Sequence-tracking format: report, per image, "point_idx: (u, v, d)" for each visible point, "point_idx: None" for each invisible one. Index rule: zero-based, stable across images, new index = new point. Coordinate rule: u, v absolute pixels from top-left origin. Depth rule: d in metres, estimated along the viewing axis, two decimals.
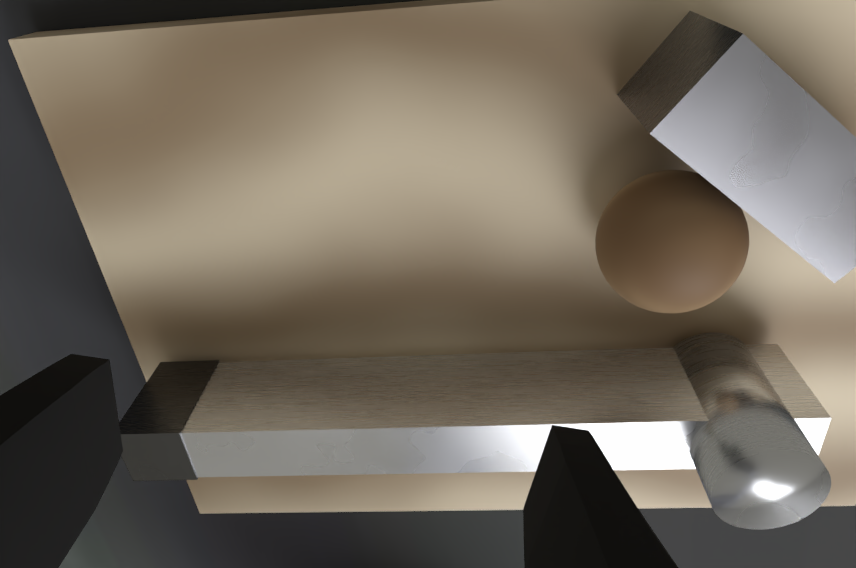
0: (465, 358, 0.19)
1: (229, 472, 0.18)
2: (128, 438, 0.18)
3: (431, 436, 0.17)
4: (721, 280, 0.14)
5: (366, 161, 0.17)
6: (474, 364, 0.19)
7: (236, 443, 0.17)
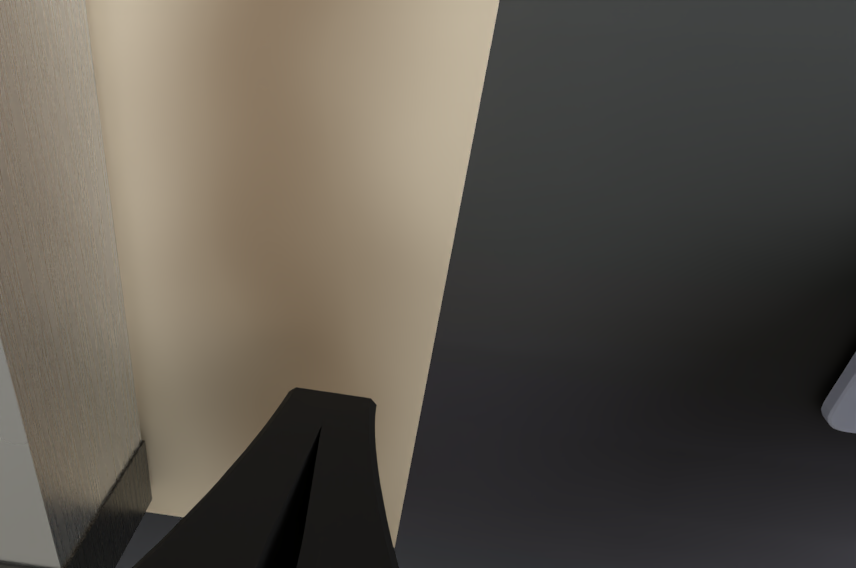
0: None
1: (41, 533, 0.11)
2: None
3: None
4: None
5: None
6: None
7: None
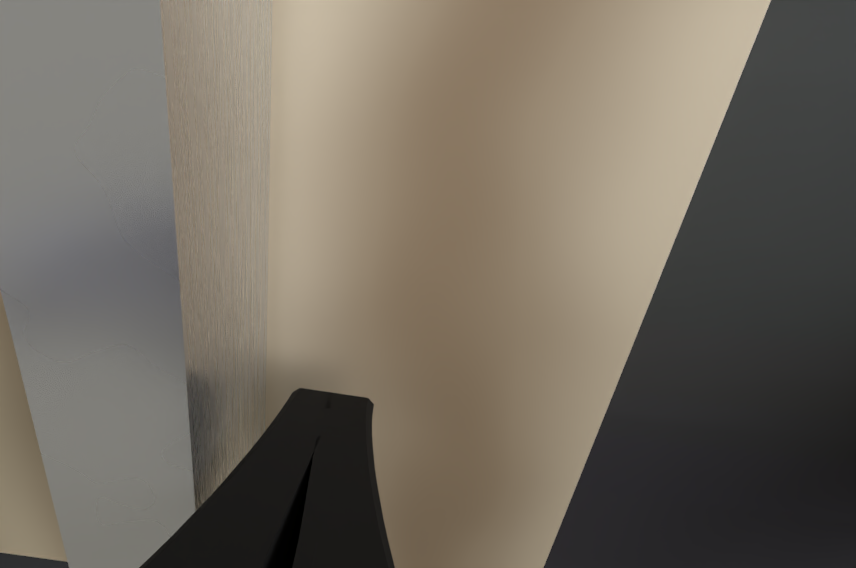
0: None
1: None
2: None
3: (39, 313, 0.06)
4: None
5: None
6: None
7: None
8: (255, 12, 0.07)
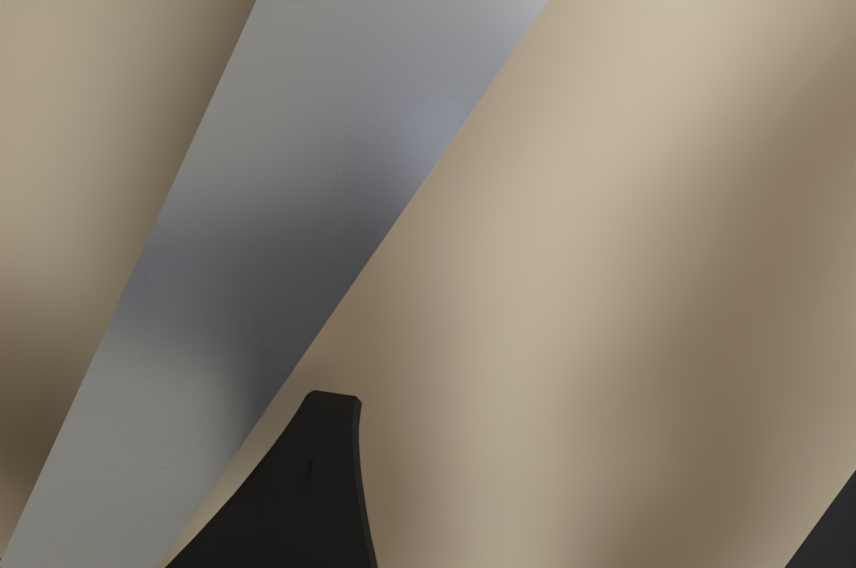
0: None
1: None
2: None
3: (183, 259, 0.06)
4: None
5: (75, 250, 0.10)
6: None
7: (40, 563, 0.08)
8: None
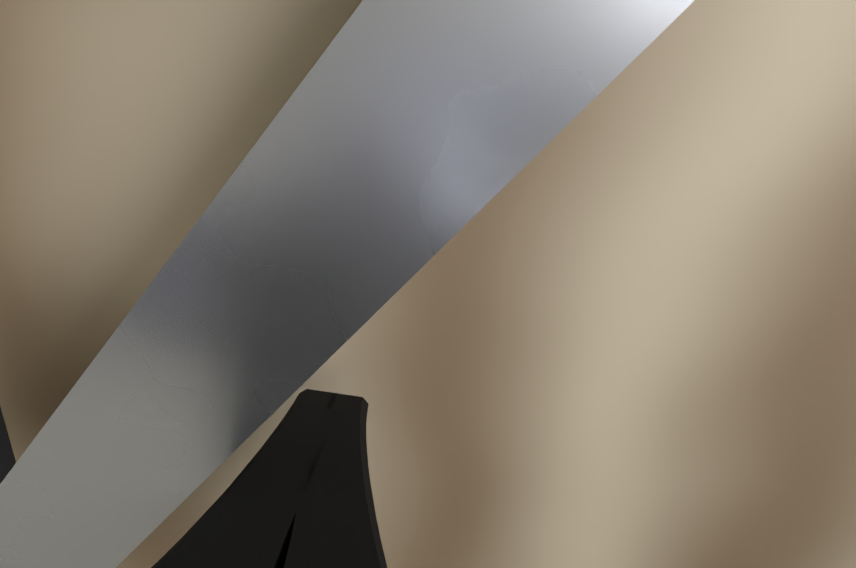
0: None
1: None
2: None
3: (262, 205, 0.05)
4: None
5: None
6: None
7: (28, 512, 0.08)
8: None
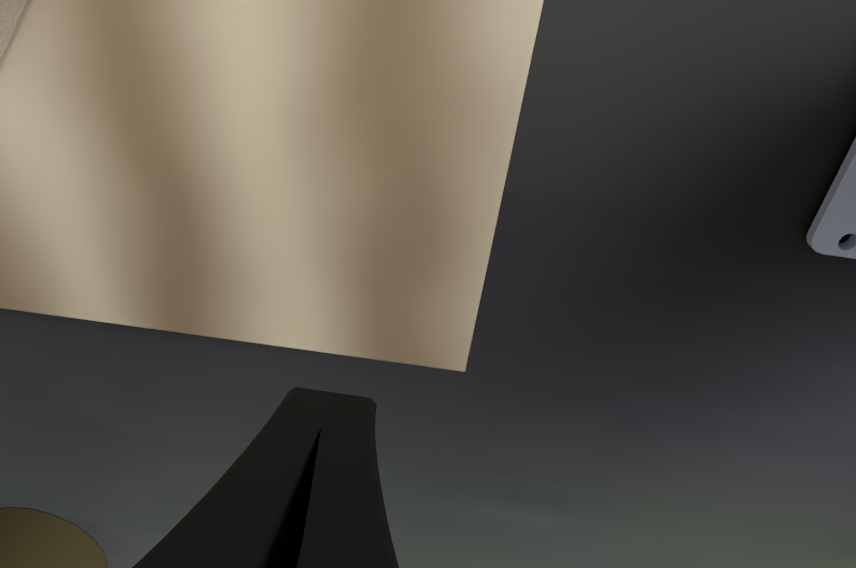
0: None
1: None
2: None
3: None
4: None
5: None
6: None
7: None
8: None
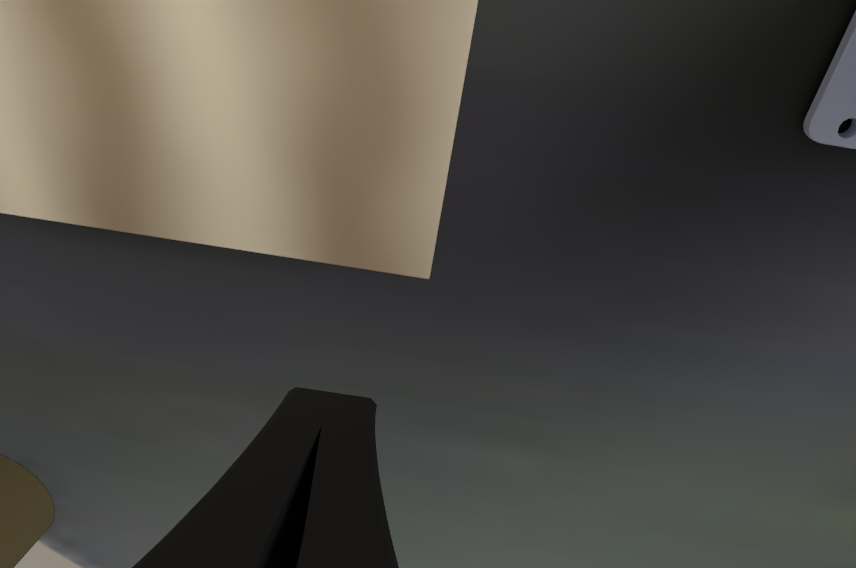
0: None
1: None
2: None
3: None
4: None
5: None
6: None
7: None
8: None
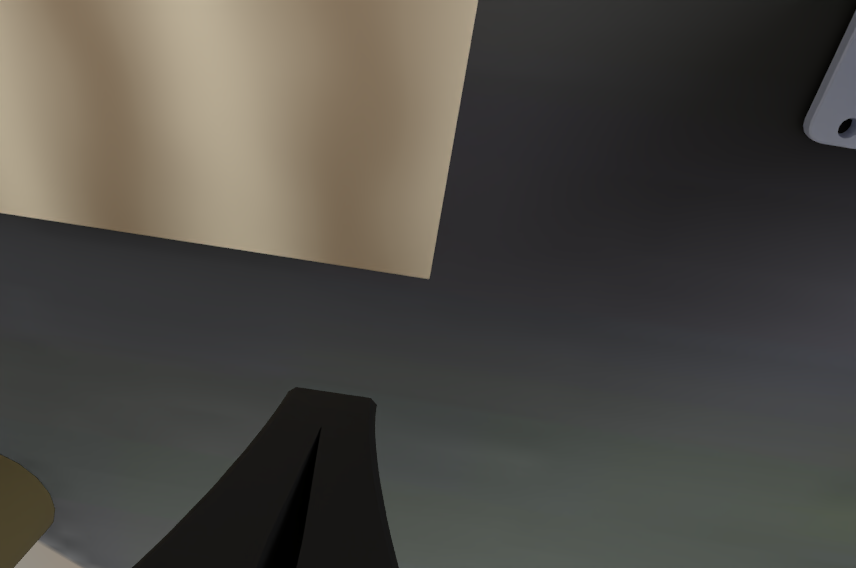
0: None
1: None
2: None
3: None
4: None
5: None
6: None
7: None
8: None
